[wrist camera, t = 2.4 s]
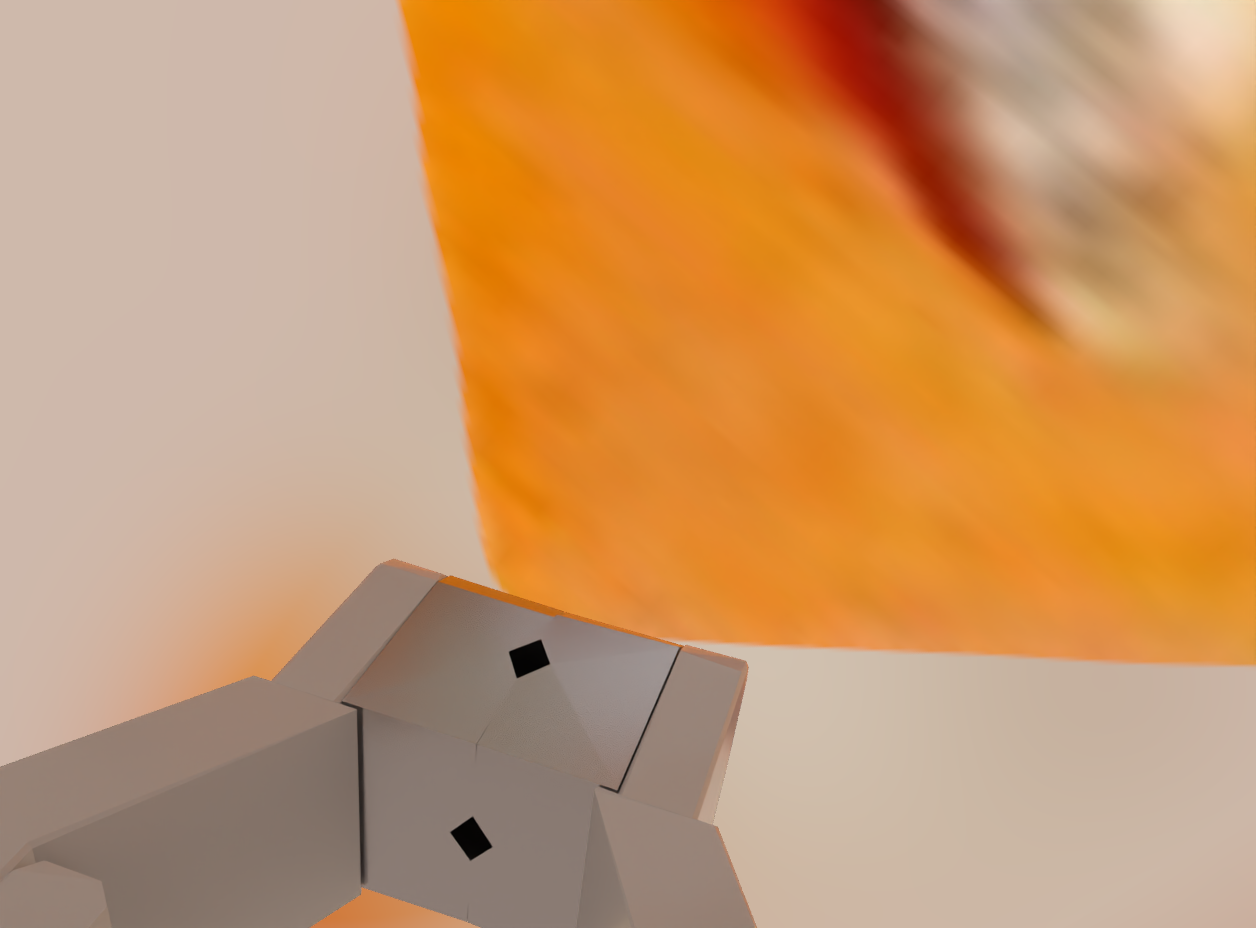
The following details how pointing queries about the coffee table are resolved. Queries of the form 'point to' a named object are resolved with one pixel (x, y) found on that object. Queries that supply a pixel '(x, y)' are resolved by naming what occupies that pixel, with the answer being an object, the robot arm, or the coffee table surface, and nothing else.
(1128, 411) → the coffee table surface
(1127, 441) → the coffee table surface
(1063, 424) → the coffee table surface
